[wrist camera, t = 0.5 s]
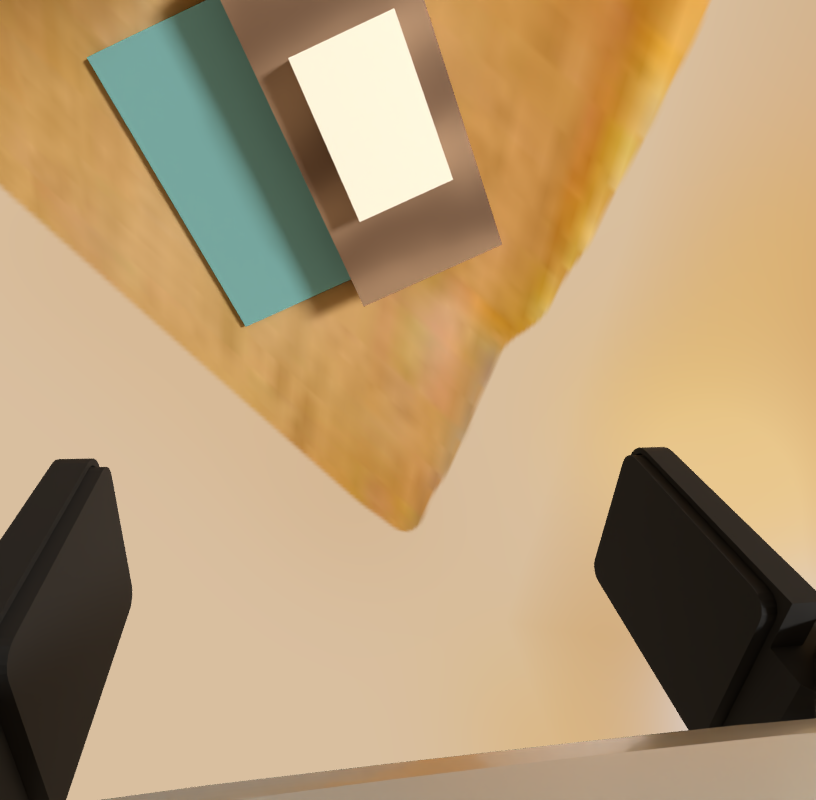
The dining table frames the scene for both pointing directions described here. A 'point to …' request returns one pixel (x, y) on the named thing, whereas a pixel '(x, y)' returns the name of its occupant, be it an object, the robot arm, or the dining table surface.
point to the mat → (222, 159)
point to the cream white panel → (373, 115)
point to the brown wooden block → (355, 241)
